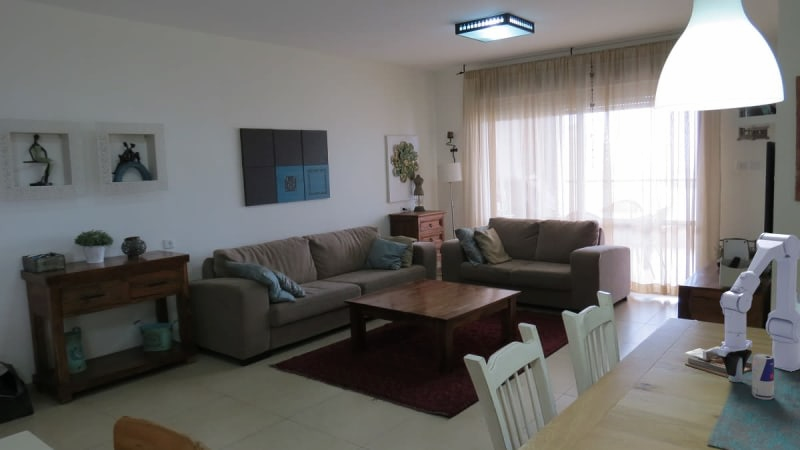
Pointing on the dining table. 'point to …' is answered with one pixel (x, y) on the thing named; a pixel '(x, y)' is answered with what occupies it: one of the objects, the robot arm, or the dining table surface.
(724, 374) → the wooden square tray
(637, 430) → the dining table surface
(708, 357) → the cover
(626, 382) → the dining table surface
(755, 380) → the energy drink
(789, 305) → the robot arm
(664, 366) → the dining table surface
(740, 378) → the light blue rounded cylinder
